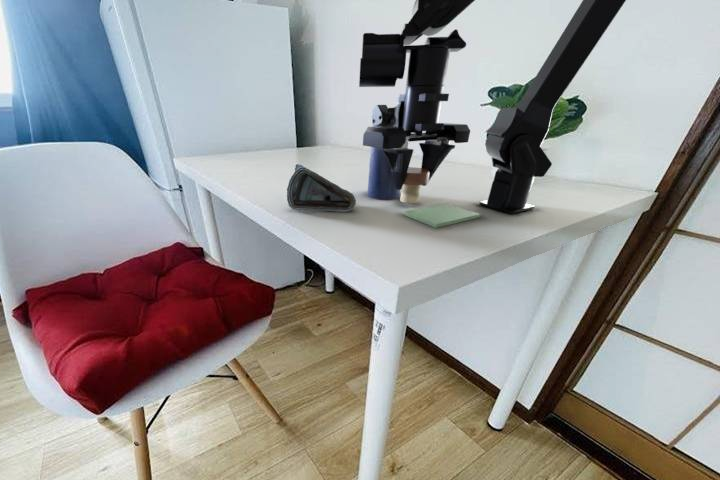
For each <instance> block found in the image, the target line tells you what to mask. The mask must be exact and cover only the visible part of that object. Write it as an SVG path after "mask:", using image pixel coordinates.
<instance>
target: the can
mask: <svg viewBox="0 0 720 480" xmlns="http://www.w3.org/2000/svg"><path fill="white" fill-rule="evenodd" d="M369 153H370V154H369V165H368V166H369V168H368V181H367V196H368V197H369V198H372V199H377V200H394V199H395V200H396V199H398V198H400V197H401V190H398V189H396V188H395V184H394V180H393V175H392V171H391V167H390V164H389V161H388V158H387V156H386V155H385V154H384V153H383V151H380V150H378V149H377V148H375V147H370V152H369Z"/></svg>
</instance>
